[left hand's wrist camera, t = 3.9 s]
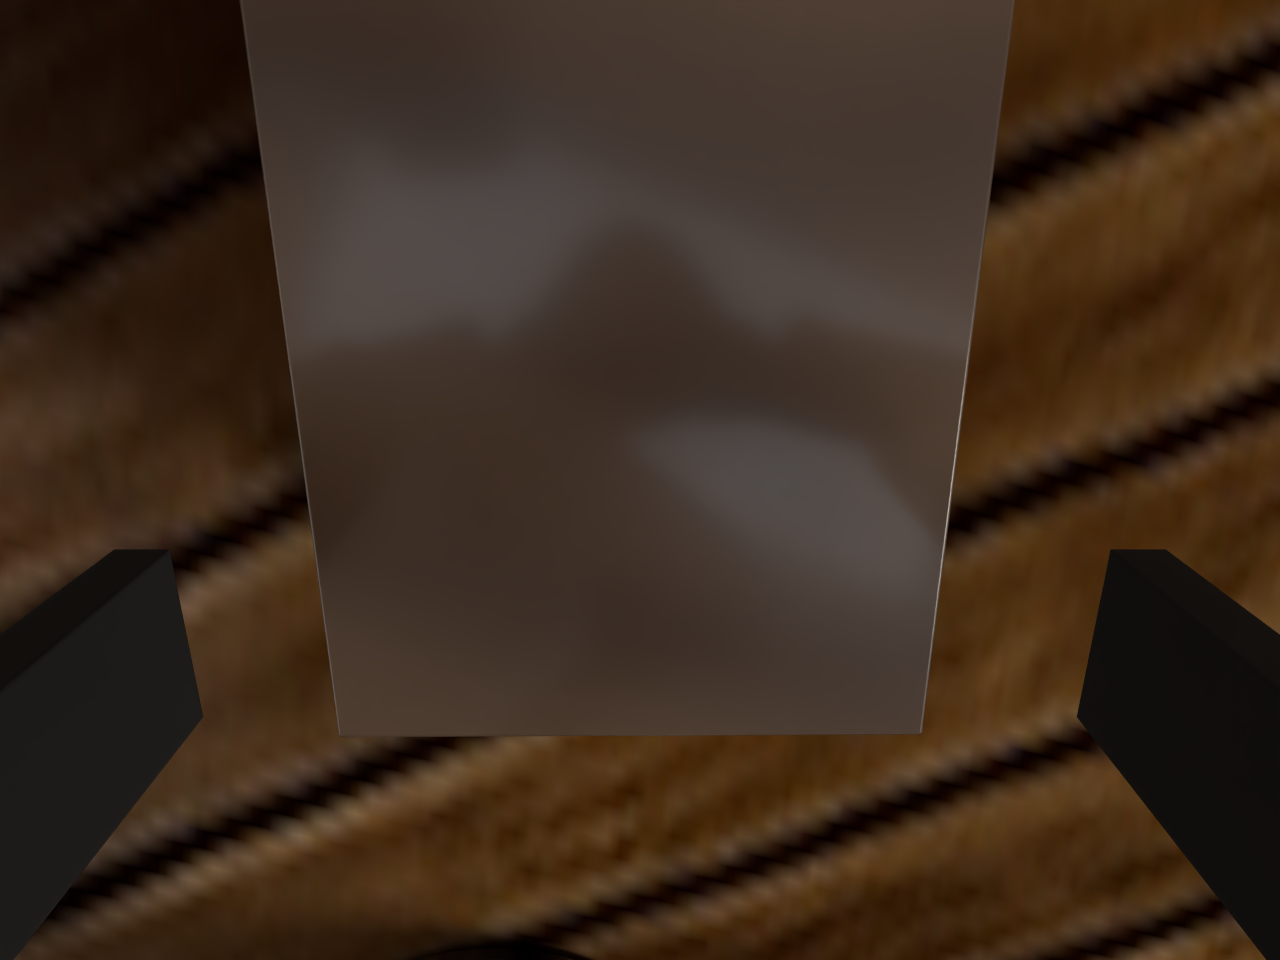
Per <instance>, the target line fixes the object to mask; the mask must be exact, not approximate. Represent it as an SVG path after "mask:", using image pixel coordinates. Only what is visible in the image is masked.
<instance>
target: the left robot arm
mask: <svg viewBox="0 0 1280 960" xmlns="http://www.w3.org/2000/svg"><path fill="white" fill-rule="evenodd" d="M202 718H203V714H202V709H201V704H200V699H199V694H198V689H197V684H196V679H195V674H194V669H193V664H192V659H191V654H190V649H189V645H188V640H187V635H186V630H185V625H184V620H183V615H182V610H181V605H180V600H179V595H178V590H177V585H176V580H175V575H174V570H173V565H172V561H171V556H170V551H169V550H113V551H112V552H110V553H109V554H108V555H106V556H105V557H104V558H102V559H101V560H100V561H98V562H97V563H96V564H94V565H93V566H92V567H90V568H89V569H88V570H86V571H85V572H84V573H82V574H81V575H80V576H78V577H77V578H76V579H74V580H73V581H72V582H70V583H69V584H68V585H66V586H65V587H64V588H62V589H61V590H60V591H58V592H57V593H56V594H54V595H53V596H51V597H50V598H49V599H47V600H46V601H45V602H43V603H42V604H41V605H39V606H38V607H37V608H35V609H34V610H33V611H31V612H30V613H29V614H27V615H26V616H25V617H23V618H22V619H21V620H19V621H18V622H17V623H15V624H14V625H13V626H11V627H10V628H9V629H7V630H6V631H5V632H3V633H2V634H1V635H0V960H14V959H15V957H16V956H17V955H18V953H19V952H20V951H21V950H22V948H23V947H24V946H25V944H26V943H27V942H28V941H29V939H30V938H31V937H32V935H33V934H34V933H35V932H36V930H37V929H38V928H39V927H40V925H41V924H42V923H43V921H44V920H45V919H46V918H47V916H48V915H49V914H50V912H51V911H52V910H53V909H54V907H55V906H56V905H57V903H58V902H59V901H60V900H61V898H62V897H63V896H64V894H65V893H66V892H67V891H68V889H69V888H70V887H71V886H72V884H73V883H74V882H75V880H76V879H77V878H78V877H79V875H80V874H81V873H82V871H83V870H84V869H85V868H86V866H87V865H88V864H89V862H90V861H91V860H92V859H93V857H94V856H95V855H96V853H97V852H98V851H99V850H100V848H101V847H102V846H103V845H104V843H105V842H106V841H107V839H108V838H109V837H110V836H111V834H112V833H113V832H114V830H115V829H116V828H117V827H118V825H119V824H120V823H121V821H122V820H123V819H124V818H125V816H126V815H127V814H128V812H129V811H130V810H131V809H132V807H133V806H134V805H135V804H136V802H137V801H138V800H139V798H140V797H141V796H142V795H143V793H144V792H145V791H146V789H147V788H148V787H149V786H150V784H151V783H152V782H153V780H154V779H155V778H156V777H157V775H158V774H159V773H160V771H161V770H162V769H163V768H164V766H165V765H166V764H167V763H168V761H169V760H170V759H171V757H172V756H173V755H174V754H175V752H176V751H177V750H178V748H179V747H180V746H181V745H182V743H183V742H184V741H185V739H186V738H187V737H188V736H189V734H190V733H191V732H192V730H193V729H194V728H195V727H196V725H197V724H198V723H199V722H200V720H201V719H202ZM1077 718H1078V719H1079V720H1080V722H1081V723H1082V724H1083V725H1084V727H1085V728H1086V729H1087V730H1088V732H1089V733H1090V734H1091V736H1092V737H1093V738H1094V739H1095V741H1096V742H1097V743H1098V745H1099V746H1100V747H1101V748H1102V750H1103V751H1104V752H1105V754H1106V755H1107V756H1108V757H1109V759H1110V760H1111V761H1112V763H1113V764H1114V765H1115V766H1116V768H1117V769H1118V770H1119V771H1120V773H1121V774H1122V775H1123V777H1124V778H1125V779H1126V780H1127V782H1128V783H1129V784H1130V786H1131V787H1132V788H1133V789H1134V791H1135V792H1136V793H1137V795H1138V796H1139V797H1140V798H1141V800H1142V801H1143V802H1144V804H1145V805H1146V806H1147V807H1148V809H1149V810H1150V811H1151V812H1152V814H1153V815H1154V816H1155V818H1156V819H1157V820H1158V821H1159V823H1160V824H1161V825H1162V827H1163V828H1164V829H1165V830H1166V832H1167V833H1168V834H1169V836H1170V837H1171V838H1172V839H1173V841H1174V842H1175V843H1176V845H1177V846H1178V847H1179V848H1180V850H1181V851H1182V852H1183V853H1184V855H1185V856H1186V857H1187V859H1188V860H1189V861H1190V862H1191V864H1192V865H1193V866H1194V868H1195V869H1196V870H1197V871H1198V873H1199V874H1200V875H1201V877H1202V878H1203V879H1204V880H1205V882H1206V883H1207V884H1208V886H1209V887H1210V888H1211V889H1212V891H1213V892H1214V893H1215V894H1216V896H1217V897H1218V898H1219V900H1220V901H1221V902H1222V903H1223V905H1224V906H1225V907H1226V909H1227V910H1228V911H1229V912H1230V914H1231V915H1232V916H1233V918H1234V919H1235V920H1236V921H1237V923H1238V924H1239V925H1240V927H1241V928H1242V929H1243V930H1244V932H1245V933H1246V934H1247V935H1248V937H1249V938H1250V939H1251V941H1252V942H1253V943H1254V944H1255V946H1256V947H1257V948H1258V950H1259V951H1260V952H1261V953H1262V955H1263V956H1264V957H1265V959H1266V960H1280V635H1279V634H1278V633H1277V632H1275V631H1274V630H1273V629H1271V628H1270V627H1269V626H1267V625H1266V624H1265V623H1263V622H1262V621H1261V620H1259V619H1258V618H1257V617H1255V616H1254V615H1253V614H1251V613H1250V612H1249V611H1247V610H1246V609H1245V608H1243V607H1242V606H1241V605H1239V604H1238V603H1237V602H1235V601H1234V600H1233V599H1231V598H1230V597H1229V596H1227V595H1226V594H1224V593H1223V592H1222V591H1220V590H1219V589H1218V588H1216V587H1215V586H1214V585H1212V584H1211V583H1210V582H1208V581H1207V580H1206V579H1204V578H1203V577H1202V576H1200V575H1199V574H1198V573H1196V572H1195V571H1194V570H1192V569H1191V568H1190V567H1188V566H1187V565H1186V564H1184V563H1183V562H1182V561H1180V560H1179V559H1178V558H1176V557H1175V556H1174V555H1172V554H1171V553H1170V552H1168V551H1167V550H1111V551H1110V556H1109V561H1108V565H1107V570H1106V575H1105V580H1104V585H1103V590H1102V595H1101V600H1100V605H1099V610H1098V615H1097V620H1096V625H1095V630H1094V635H1093V640H1092V645H1091V649H1090V654H1089V659H1088V664H1087V669H1086V674H1085V679H1084V684H1083V689H1082V694H1081V699H1080V704H1079V709H1078V714H1077ZM417 960H575V959H571V958H567V957H563V956H559V955H554V954H549V953H544V952H538V951H530V950H520V949H501V948H489V949H470V950H461V951H453V952H447V953H442V954H437V955H432V956H428V957H424V958H421V959H417Z"/></svg>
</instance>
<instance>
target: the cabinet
mask: <svg viewBox="0 0 1280 960" xmlns="http://www.w3.org/2000/svg"><path fill="white" fill-rule="evenodd" d="M239 1H240V8H241V16H242V23H243V30H244V38H245V45H246V53H247V60H248V67H249V75H250V82H251V89H252V97H253V104H254V111H255V119H256V126H257V134H258V141H259V148H260V156H261V163H262V170H263V178H264V185H265V192H266V200H267V207H268V214H269V222H270V229H271V237H272V244H273V251H274V259H275V266H276V273H277V281H278V288H279V295H280V303H281V310H282V318H283V325H284V332H285V340H286V347H287V354H288V362H289V369H290V376H291V384H292V391H293V398H294V406H295V413H296V421H297V428H298V435H299V443H300V450H301V457H302V465H303V472H304V479H305V487H306V494H307V502H308V509H309V516H310V524H311V531H312V538H313V546H314V553H315V560H316V568H317V575H318V582H319V590H320V597H321V605H322V612H323V619H324V627H325V634H326V641H327V649H328V656H329V663H330V671H331V678H332V686H333V693H334V700H335V708H336V715H337V722H338V730H339V735H340V736H341V737H445V736H676V735H907V734H921V733H922V728H923V721H924V713H925V705H926V697H927V689H928V681H929V673H930V665H931V658H932V650H933V642H934V634H935V626H936V618H937V610H938V603H939V595H940V587H941V579H942V571H943V563H944V555H945V547H946V540H947V532H948V524H949V516H950V508H951V500H952V492H953V485H954V477H955V469H956V461H957V453H958V445H959V437H960V429H961V422H962V414H963V406H964V398H965V390H966V382H967V374H968V367H969V359H970V351H971V343H972V335H973V327H974V319H975V311H976V304H977V296H978V288H979V280H980V272H981V264H982V256H983V248H984V241H985V233H986V225H987V217H988V209H989V201H990V193H991V186H992V178H993V170H994V162H995V154H996V146H997V138H998V130H999V123H1000V115H1001V107H1002V99H1003V91H1004V83H1005V75H1006V68H1007V60H1008V52H1009V44H1010V36H1011V28H1012V20H1013V12H1014V5H1015V0H239Z"/></svg>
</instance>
